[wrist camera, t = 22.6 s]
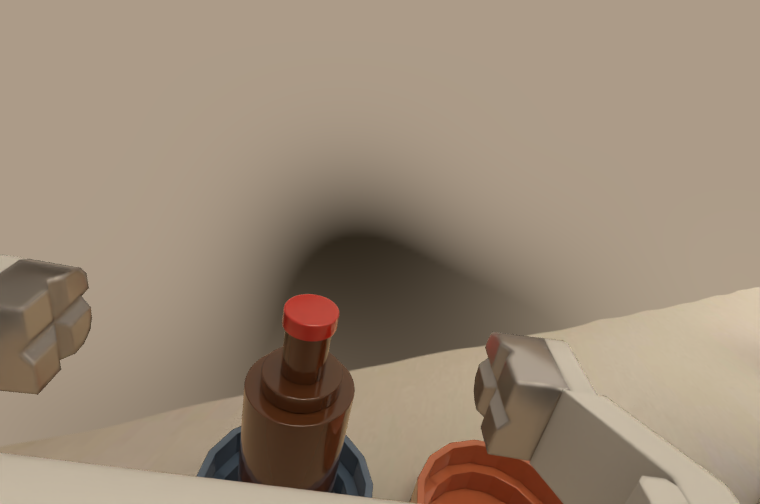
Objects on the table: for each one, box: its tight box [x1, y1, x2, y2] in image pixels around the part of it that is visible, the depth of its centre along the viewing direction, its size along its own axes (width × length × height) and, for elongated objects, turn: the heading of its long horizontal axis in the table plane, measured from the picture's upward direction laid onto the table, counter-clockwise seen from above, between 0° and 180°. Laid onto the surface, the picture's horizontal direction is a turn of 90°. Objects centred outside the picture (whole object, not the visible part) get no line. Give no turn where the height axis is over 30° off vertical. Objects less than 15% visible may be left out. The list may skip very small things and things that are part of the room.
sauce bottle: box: [237, 294, 355, 493], centre depth 28 cm, size 6×6×18 cm
